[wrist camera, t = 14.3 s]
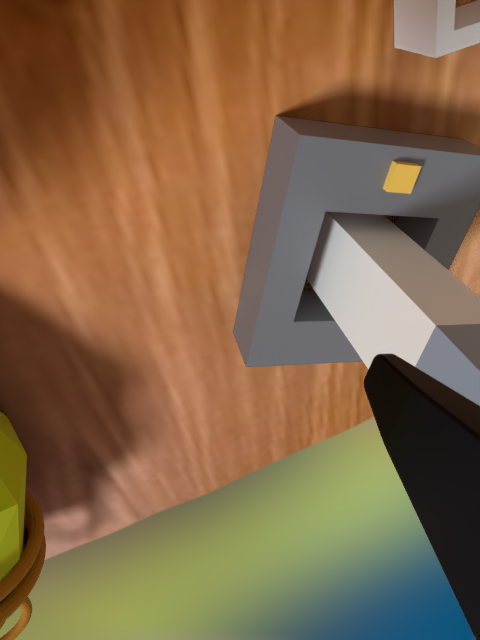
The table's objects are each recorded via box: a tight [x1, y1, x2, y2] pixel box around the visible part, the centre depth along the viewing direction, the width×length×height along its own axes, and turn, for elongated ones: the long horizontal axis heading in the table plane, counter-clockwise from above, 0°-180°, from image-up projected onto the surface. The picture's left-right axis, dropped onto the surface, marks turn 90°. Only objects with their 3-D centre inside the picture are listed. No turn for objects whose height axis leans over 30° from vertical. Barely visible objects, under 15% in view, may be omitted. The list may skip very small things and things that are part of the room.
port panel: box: [233, 116, 480, 367], centre depth 23 cm, size 10×12×3 cm
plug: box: [306, 211, 480, 406], centre depth 19 cm, size 3×4×13 cm
